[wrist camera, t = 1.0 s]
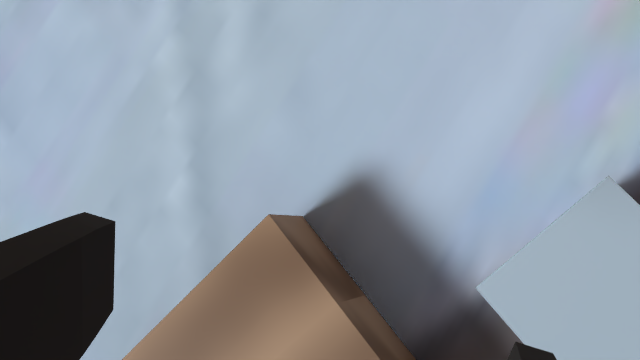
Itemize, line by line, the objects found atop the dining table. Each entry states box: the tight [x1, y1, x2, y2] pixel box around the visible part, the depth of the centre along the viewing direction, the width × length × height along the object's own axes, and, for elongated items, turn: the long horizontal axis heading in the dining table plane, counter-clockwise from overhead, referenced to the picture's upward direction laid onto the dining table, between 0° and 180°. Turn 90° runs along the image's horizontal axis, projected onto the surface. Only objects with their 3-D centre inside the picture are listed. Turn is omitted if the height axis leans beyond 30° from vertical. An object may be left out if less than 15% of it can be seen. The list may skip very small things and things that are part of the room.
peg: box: [476, 176, 640, 360], centre depth 17 cm, size 4×4×8 cm
